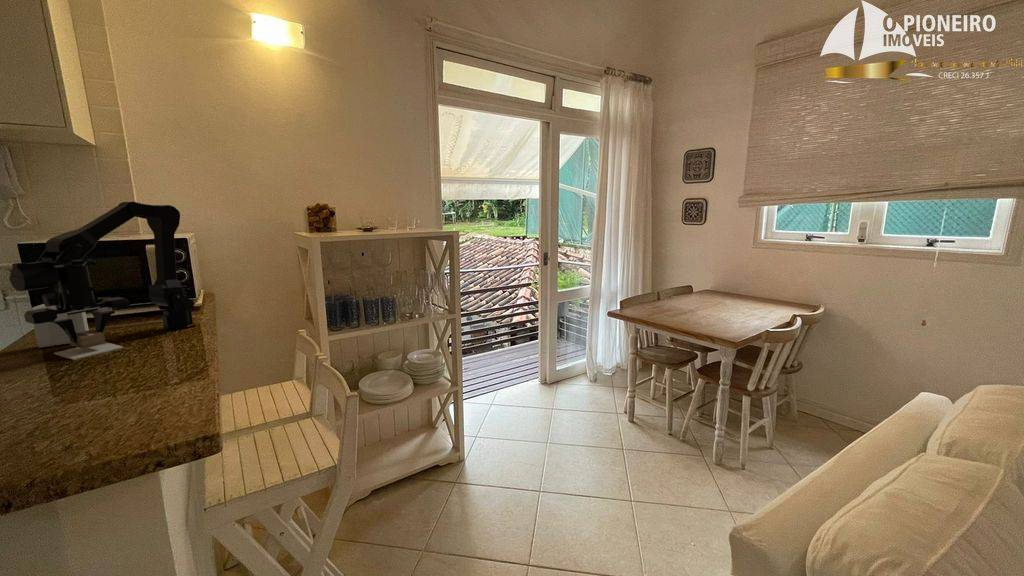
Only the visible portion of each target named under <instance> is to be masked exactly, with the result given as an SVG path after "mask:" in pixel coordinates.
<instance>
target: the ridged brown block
mask: <svg viewBox="0 0 1024 576" xmlns="http://www.w3.org/2000/svg"><path fill="white" fill-rule="evenodd" d="M76 336H77V343H74V342H73V341H72V340H71V339H70V343H69V344H70V345H71V346H73V347H75V348H77V347H80V348H83V349H84V348H88V347H92V346H97V345H101V344H106V342H107V341H106V337H105V333H104V332H103V333H101V332H97V331H96V330H93V329H89V331H83V332H78V333H76ZM69 338H70V337H69Z"/></svg>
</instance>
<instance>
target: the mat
mask: <svg viewBox="0 0 1024 576" xmlns="http://www.w3.org/2000/svg"><path fill="white" fill-rule="evenodd" d="M105 342H106V344H101V345H97V346H92V347H88V348H84V349H83V348H80V347H74V348H70V349H69V348H68V349H65V350H61V351H56V352H54V353H53V354H54V355H56V356H59V357H63V358H65V359H69V360H72V361H76V360H81V359H84V358H88V357H89V358H90V357H92V356H97V355H102V354H106V353H109V352H113V351H117V350H122V349H124V346H122V345H118V344H115V343H110V342H107V341H105Z"/></svg>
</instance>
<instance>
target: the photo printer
mask: <svg viewBox="0 0 1024 576" xmlns="http://www.w3.org/2000/svg"><path fill="white" fill-rule="evenodd" d="M43 308H49V309H54V310H58V309H56V306H50V307H46V306H45V305H44V303H42V304H39V305H36V306H33V307H31V310H37V309H43ZM63 309H64V308H63ZM86 314H87V313H86V312H83V313H77V314H71V315H67V316H68V319H72V321H73V324H74V328H75V332H76V333H78V332H83V331H89V330H90V329H89V325H88V320H87V315H86ZM32 326H33V329H34V335H35V339H36V343H37V347H38V348H39V349H40V348H48V347H54V346H55V345H56V346H62V344H63V345H68V344H71V343H70V338H69V336H68V335H67V334H66V333H65V331H64V330H63V329H62V328H61V327H60V326H59V325H57V324H55V323H51V322H46V323H40V324H32Z"/></svg>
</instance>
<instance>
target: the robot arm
mask: <svg viewBox="0 0 1024 576" xmlns="http://www.w3.org/2000/svg"><path fill="white" fill-rule="evenodd" d="M135 217H136V218H140V219H144V220H146V224H147V225H148V228H150V230H151V231H152V233H153V239H154V240H153V242H154V254H155V257H154V258H155V272H156V279H155V281H154V284H148V285H147V289H148V296H147V298H150V301H151V303H153V304H154V305H156V306H157V307H158V309H159V310H160V311H162V312H163V315H162V316H161V317H162V321H163V322H162V323H163V327H162V329H165V330H168V329H169V330H168V331H173V330H175V331H178V329H179V330H181V329H180V328H184V327H187V326H188V325H190V324H194V321H193V315H192V310H193V309H194V308H195V303H196V302H195V301H194V300H192V299H190V298H188V297H187V296H186V295H185V291H184V288H183V285H182V284H181V282H180V281H179V280H178V278H177V277H178V276H177V259H176V243H175V242H176V241H175V234H176V232H177V230H178V228H179V226H180V220H181V212H180V210H179V209H178V208H176V207H175V206H173V205H170V204H164V205H163V204H161V205H160V204H157V205H156V204H146V203H140V202H137V201H122V202H119V204H118V205H116V206H114V207H113V208H111V209H110V210H108V211H107V212H105V213H103V214H102V215H100V216H97V218H95V219H93V220H92V221H90V222H88V223H87V224H85V225H83V226H81V227H78V228H77V229H74V230H71V231H66V232H63V233H61V234H58V235H56V236H53V237H51V238H49V239H47V241H46V242H45V243H44V244H45V249H44V250H43V252H42V253H41V255H40V256H39V257H38V258H37V260H36V261H35V262H14V263H12V264H11V267H12V268H11V270H10V276H9V277H8V278H9V282H10V284H11V286H12V287H13V288H14V290H16V291H17V292H25V291H33V290H40V289H41V290H42V289H46V288H47V289H48V288H49V289H50V288H53V287H56V286H55V285H56V284H58V286H59V288H57V289H58V290H57V291H58V292H57V293H58V294H55V293H54V292H53V293H45V294H42V301H43V304H44V305H45V306H46V307H50V306H56V309H58V310H54V309H49V308H43V309H37V310H32V309H31V310H26V312H25V313H24V315H23V316H24V320H25V322H26V323H29V324H32V325H33V324H40V323H46V322H51V323H55V324H57V325H59V326H60V327H61V328H62V329H63V330H64V331H65V333H66V334H67V335H68V336H69V337H70V339H71V340H72V341H73V342H74V343H77V336H76V332H75V328H74V324H73V321H72V319H68V316H67V315H71V314H77V313H83V312H85V313H86V312H91V314H92V316H93V321H94V327H95V331H97V332H101V333H104V330H105V328H106V325H107V323H108V321H109V319H110V318H111V316H112V315H114V314H116V311H119V310H120V311H121V310H123V309H130V308H131V302H130V300H129V299H128V298H127V297H126V298H125V297H119V296H115V297H110V298H102V300H101V302H97V301H95V296H94V292H95V287H94V286H92V283H91V282H92V281H91V278H90V272H89V268H88V267H90V266H91V267H92V266H97V265H98V262H97V261H96V260H92V259H91V258H89V256H87V254H89V253H90V252H91V251H92V250H93V249H94V248H95V247H96V245H97V243H98V241H100V240H102V238H104V237H105V236H107V235H108V234H110V233H111V232H113V231H114V230H116V229H117V228H119V227H120V226H122V225H124V224H126V223H127V222H128V221H130V220H131V219H133V218H135ZM63 308H64V309H63ZM113 309H115V310H116V311H115V310H113ZM184 329H185V328H184Z"/></svg>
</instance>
